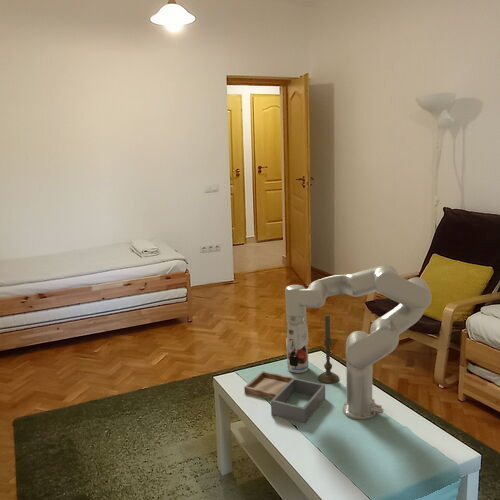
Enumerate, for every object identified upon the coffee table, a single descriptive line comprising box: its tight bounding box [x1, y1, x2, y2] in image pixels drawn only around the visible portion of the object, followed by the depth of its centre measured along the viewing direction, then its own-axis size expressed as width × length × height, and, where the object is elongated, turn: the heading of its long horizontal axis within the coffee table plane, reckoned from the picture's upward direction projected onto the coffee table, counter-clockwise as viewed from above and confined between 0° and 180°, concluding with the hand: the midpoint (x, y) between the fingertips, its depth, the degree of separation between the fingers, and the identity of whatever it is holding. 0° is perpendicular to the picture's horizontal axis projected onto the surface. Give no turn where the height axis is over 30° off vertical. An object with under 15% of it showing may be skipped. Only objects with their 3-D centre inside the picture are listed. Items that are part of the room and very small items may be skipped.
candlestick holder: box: [317, 313, 340, 385], centre depth 206 cm, size 9×9×30 cm
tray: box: [243, 370, 294, 401], centre depth 204 cm, size 16×16×3 cm
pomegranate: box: [288, 347, 307, 368], centre depth 184 cm, size 7×7×10 cm
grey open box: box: [270, 377, 326, 425], centre depth 188 cm, size 14×20×6 cm
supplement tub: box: [285, 338, 309, 374], centre depth 219 cm, size 10×10×15 cm
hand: (298, 361), depth 185 cm, fingers closed on pomegranate, 7 cm apart
